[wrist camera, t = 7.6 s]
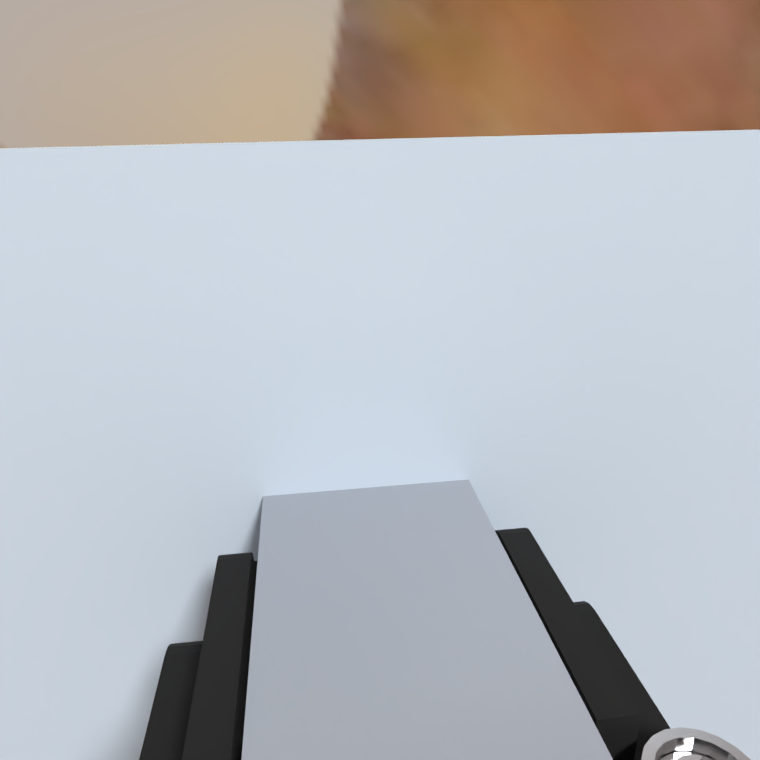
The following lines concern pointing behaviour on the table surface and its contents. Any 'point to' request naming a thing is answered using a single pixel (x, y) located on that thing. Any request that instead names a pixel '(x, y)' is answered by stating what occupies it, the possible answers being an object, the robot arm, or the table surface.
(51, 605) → the lid
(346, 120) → the table surface
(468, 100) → the table surface
